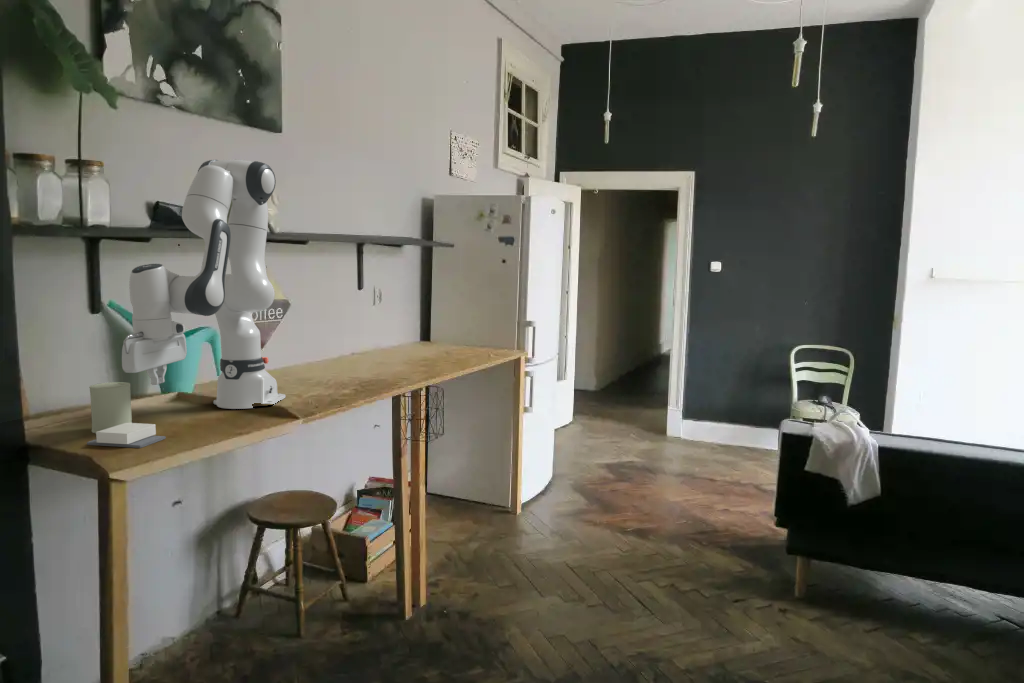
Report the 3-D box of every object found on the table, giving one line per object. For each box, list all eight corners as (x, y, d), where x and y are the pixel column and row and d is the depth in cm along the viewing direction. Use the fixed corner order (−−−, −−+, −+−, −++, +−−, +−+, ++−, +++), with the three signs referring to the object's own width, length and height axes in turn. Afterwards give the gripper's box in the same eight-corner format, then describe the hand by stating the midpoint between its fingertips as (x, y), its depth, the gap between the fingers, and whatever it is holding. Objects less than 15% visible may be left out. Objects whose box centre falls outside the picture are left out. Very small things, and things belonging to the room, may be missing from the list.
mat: (114, 435, 178) (114, 433, 178) (165, 438, 176) (165, 436, 176) (86, 444, 169) (86, 442, 169) (140, 447, 167) (140, 445, 167)
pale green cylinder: (138, 429, 185) (136, 383, 183) (99, 435, 178) (96, 387, 177) (124, 424, 191) (122, 379, 189) (86, 429, 184) (83, 383, 183)
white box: (126, 422, 178) (96, 431, 168) (155, 424, 176) (126, 433, 167) (126, 433, 178) (96, 443, 168) (155, 435, 177) (127, 445, 167)
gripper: (135, 335, 170) (141, 393, 172) (189, 324, 190) (193, 376, 192) (111, 335, 171) (117, 392, 173) (167, 324, 191) (172, 375, 193)
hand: (157, 383), depth 183 cm, fingers closed
